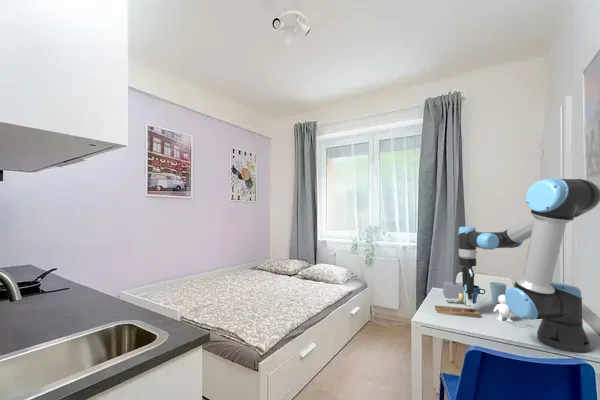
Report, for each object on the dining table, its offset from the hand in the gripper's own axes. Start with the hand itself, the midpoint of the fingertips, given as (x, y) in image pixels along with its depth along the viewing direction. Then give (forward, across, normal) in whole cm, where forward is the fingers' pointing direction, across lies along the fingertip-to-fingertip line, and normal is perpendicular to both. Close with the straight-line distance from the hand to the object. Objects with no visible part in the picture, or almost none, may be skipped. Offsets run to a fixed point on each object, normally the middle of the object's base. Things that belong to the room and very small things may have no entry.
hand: (468, 303), depth 141 cm
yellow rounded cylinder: (+5, +17, +2) cm, 18 cm away
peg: (+1, 0, 0) cm, 1 cm away
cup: (+5, +24, -21) cm, 32 cm away
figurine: (+5, -5, -14) cm, 15 cm away
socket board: (+5, 0, +5) cm, 7 cm away
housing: (+5, +29, 0) cm, 29 cm away
